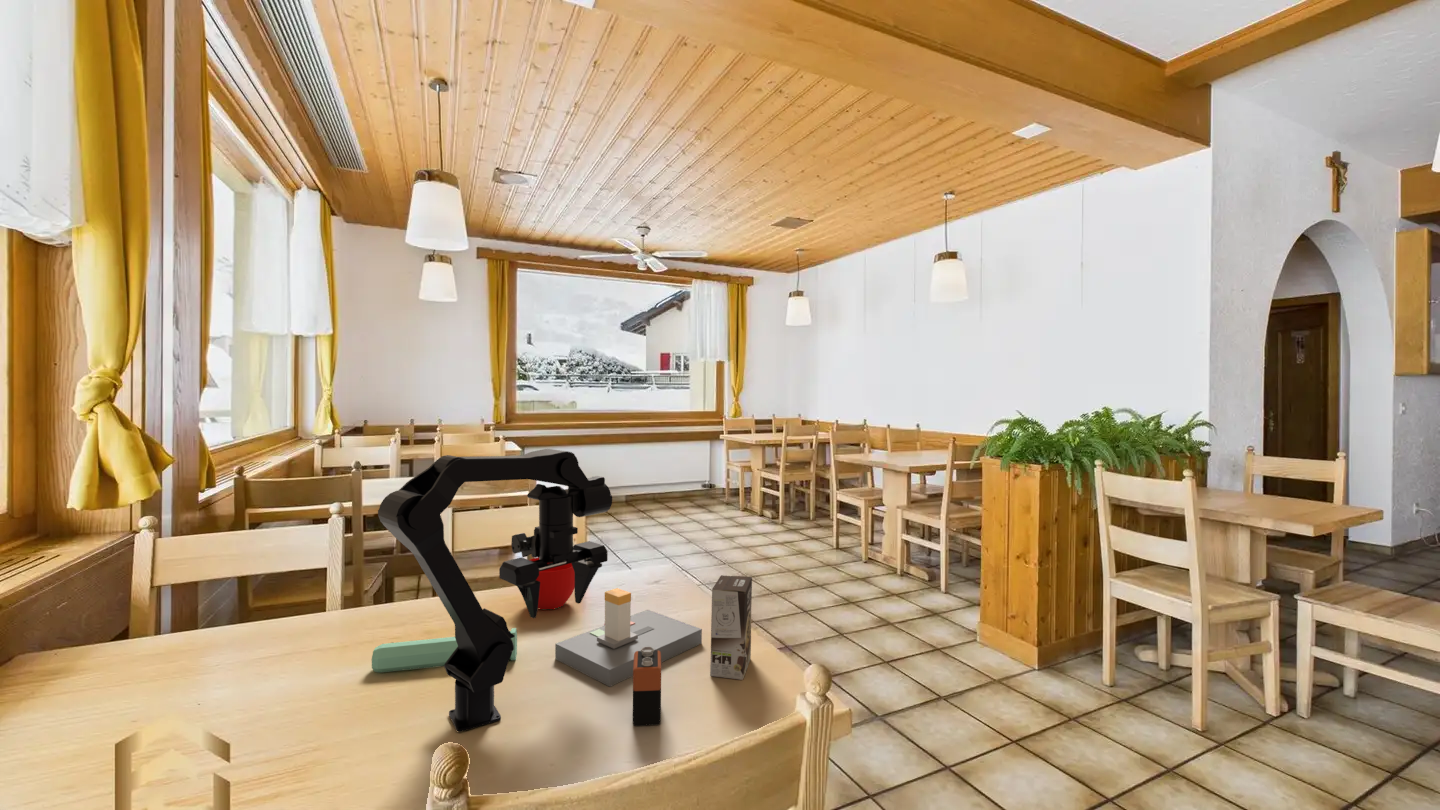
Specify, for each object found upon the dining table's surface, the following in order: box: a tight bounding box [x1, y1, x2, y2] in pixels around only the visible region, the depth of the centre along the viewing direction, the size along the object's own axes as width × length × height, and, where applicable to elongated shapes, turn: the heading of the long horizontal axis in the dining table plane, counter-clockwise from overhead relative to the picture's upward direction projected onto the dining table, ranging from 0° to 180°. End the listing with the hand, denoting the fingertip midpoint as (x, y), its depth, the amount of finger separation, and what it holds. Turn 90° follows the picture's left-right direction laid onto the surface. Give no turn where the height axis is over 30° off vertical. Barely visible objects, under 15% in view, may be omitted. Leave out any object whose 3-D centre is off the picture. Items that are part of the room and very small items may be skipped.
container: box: [371, 627, 518, 673], centre depth 115 cm, size 6×6×25 cm
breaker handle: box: [597, 587, 638, 649], centre depth 119 cm, size 6×5×9 cm
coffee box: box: [709, 574, 753, 681], centre depth 115 cm, size 9×6×16 cm
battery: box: [632, 647, 662, 727], centre depth 99 cm, size 4×7×10 cm, turn 6°
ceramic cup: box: [529, 557, 575, 610], centre depth 144 cm, size 13×17×10 cm
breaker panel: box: [554, 609, 703, 688], centre depth 122 cm, size 24×16×3 cm, turn 140°
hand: (556, 610), depth 108 cm, fingers open, 9 cm apart
